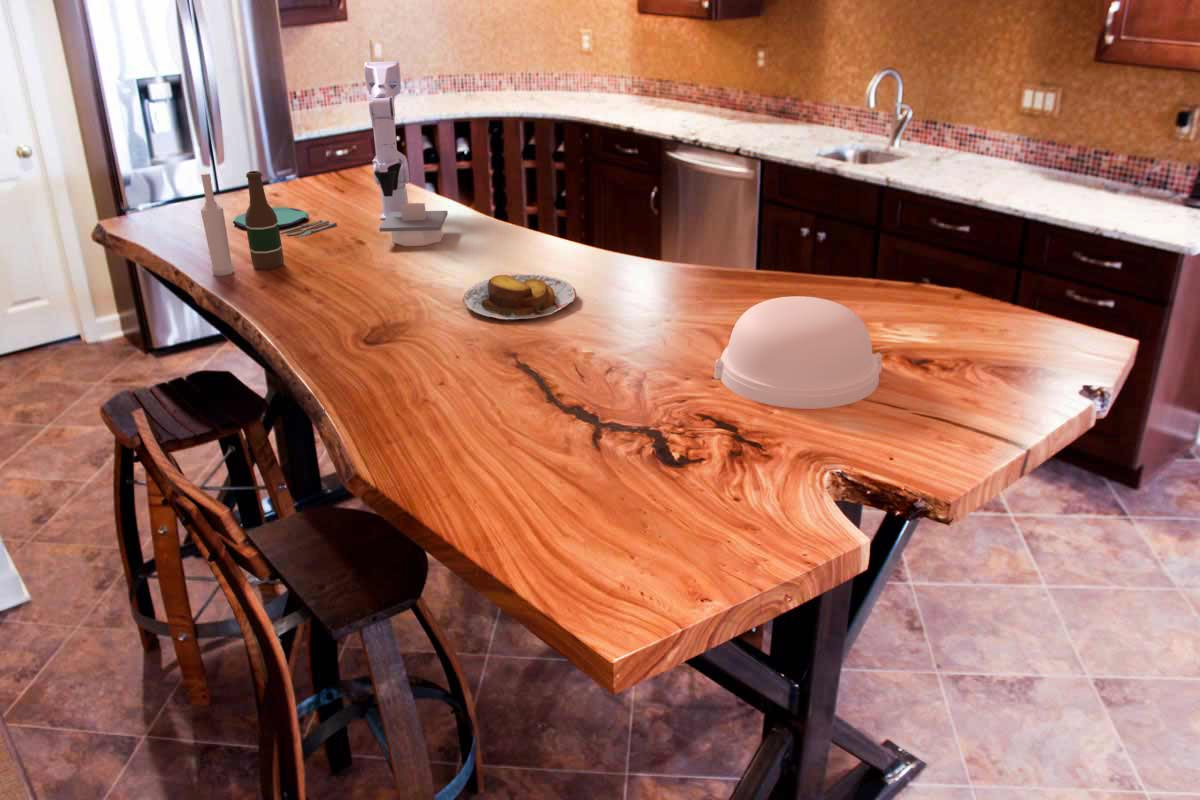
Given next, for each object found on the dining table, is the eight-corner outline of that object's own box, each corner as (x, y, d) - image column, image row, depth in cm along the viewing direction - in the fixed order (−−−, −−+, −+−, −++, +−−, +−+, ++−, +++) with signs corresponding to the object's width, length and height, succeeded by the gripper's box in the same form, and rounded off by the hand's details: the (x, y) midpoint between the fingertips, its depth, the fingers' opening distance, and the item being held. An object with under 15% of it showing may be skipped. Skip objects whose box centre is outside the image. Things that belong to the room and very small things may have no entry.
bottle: (237, 269, 266) (220, 171, 256) (229, 276, 262) (211, 176, 251) (217, 269, 267) (199, 171, 256) (209, 276, 262) (190, 176, 252)
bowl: (398, 232, 294) (396, 216, 292) (444, 231, 294) (443, 215, 292) (390, 246, 282) (388, 229, 280) (438, 245, 282) (437, 228, 280)
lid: (390, 215, 293) (388, 197, 291) (447, 214, 293) (446, 196, 291) (379, 231, 279) (377, 213, 277) (440, 230, 279) (438, 211, 277)
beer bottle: (252, 263, 271) (236, 170, 261) (283, 259, 273) (269, 167, 263) (253, 272, 264) (236, 176, 254) (285, 268, 267) (270, 174, 256)
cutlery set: (278, 210, 319) (277, 202, 318) (344, 226, 303) (343, 218, 302) (222, 226, 305) (220, 218, 304) (287, 244, 289) (286, 236, 288)
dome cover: (860, 343, 215) (866, 277, 209) (904, 406, 188) (913, 333, 182) (703, 348, 214) (705, 282, 208) (725, 413, 187) (728, 339, 181)
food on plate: (593, 294, 245) (593, 267, 242) (545, 331, 225) (544, 302, 222) (497, 281, 255) (495, 255, 252) (443, 316, 234) (440, 288, 231)
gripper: (375, 138, 293) (381, 187, 299) (365, 148, 280) (371, 199, 285) (401, 138, 293) (406, 186, 299) (392, 148, 280) (397, 198, 285)
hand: (390, 193), depth 292 cm, fingers open, 7 cm apart
